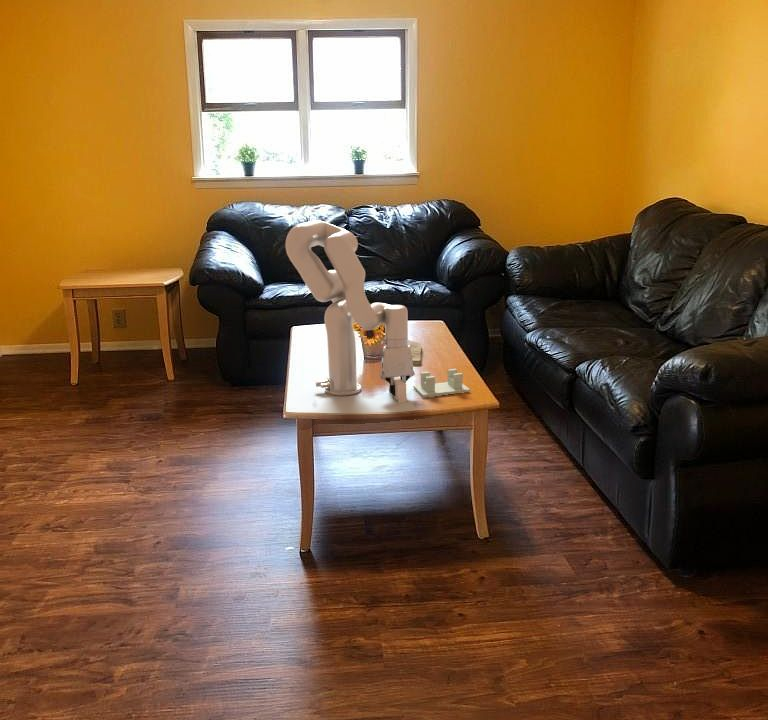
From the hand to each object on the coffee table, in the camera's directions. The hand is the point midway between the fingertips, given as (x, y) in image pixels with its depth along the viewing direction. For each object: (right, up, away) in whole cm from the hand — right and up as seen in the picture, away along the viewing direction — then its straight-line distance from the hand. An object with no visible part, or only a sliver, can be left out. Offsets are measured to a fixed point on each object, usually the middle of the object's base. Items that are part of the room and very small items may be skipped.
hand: (397, 394), depth 258 cm
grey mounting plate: (+15, +1, +4) cm, 16 cm away
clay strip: (0, -1, 0) cm, 1 cm away
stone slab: (+5, +13, +48) cm, 50 cm away
